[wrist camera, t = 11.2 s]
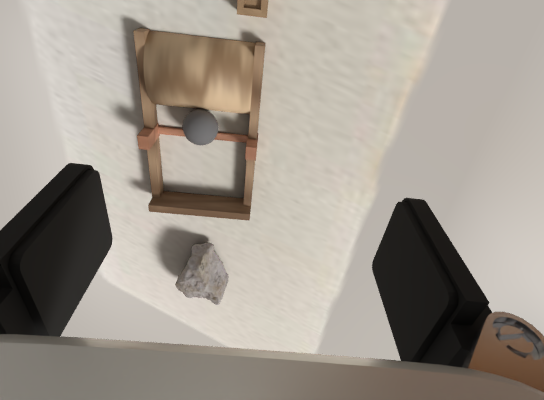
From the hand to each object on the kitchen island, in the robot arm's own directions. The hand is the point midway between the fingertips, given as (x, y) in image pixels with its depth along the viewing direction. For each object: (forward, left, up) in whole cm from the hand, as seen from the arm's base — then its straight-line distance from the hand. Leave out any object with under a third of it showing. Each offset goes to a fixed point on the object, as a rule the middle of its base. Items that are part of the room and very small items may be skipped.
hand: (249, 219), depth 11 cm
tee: (-4, -2, -30) cm, 30 cm away
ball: (+8, -7, -27) cm, 29 cm away
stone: (+28, -7, -30) cm, 41 cm away
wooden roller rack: (+12, -7, -30) cm, 33 cm away
